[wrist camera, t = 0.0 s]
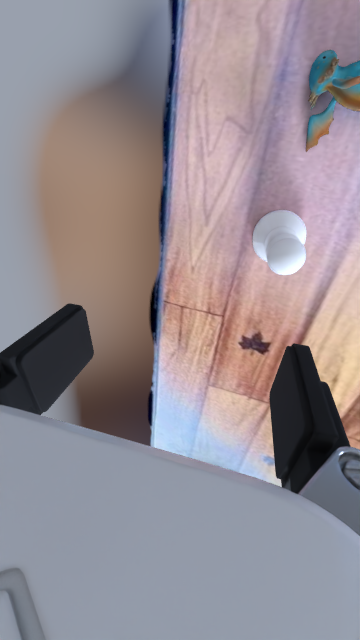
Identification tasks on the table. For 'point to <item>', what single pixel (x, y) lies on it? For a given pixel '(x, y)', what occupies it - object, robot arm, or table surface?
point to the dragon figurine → (342, 82)
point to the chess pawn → (281, 241)
